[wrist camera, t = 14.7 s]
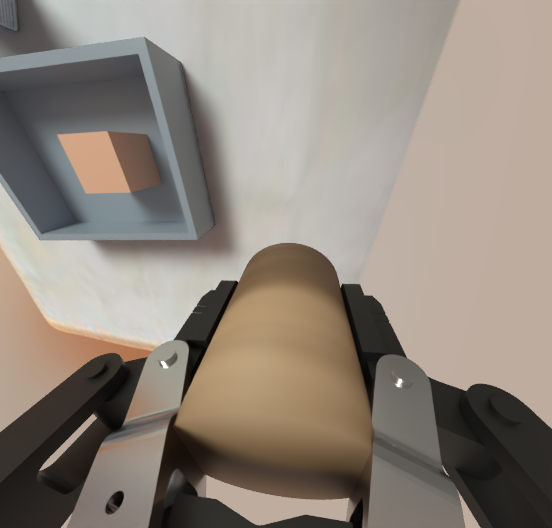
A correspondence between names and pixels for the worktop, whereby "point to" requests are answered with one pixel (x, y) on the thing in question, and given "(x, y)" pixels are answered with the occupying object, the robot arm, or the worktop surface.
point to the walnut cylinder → (281, 384)
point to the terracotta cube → (111, 161)
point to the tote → (96, 118)
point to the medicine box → (8, 14)
